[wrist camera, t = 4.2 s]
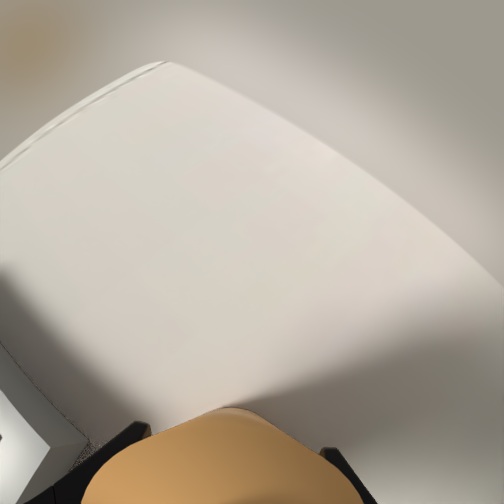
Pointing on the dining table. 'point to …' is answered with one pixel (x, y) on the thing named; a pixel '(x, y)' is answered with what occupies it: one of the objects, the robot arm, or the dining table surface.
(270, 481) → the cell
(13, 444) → the gray square tray
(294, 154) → the dining table surface
